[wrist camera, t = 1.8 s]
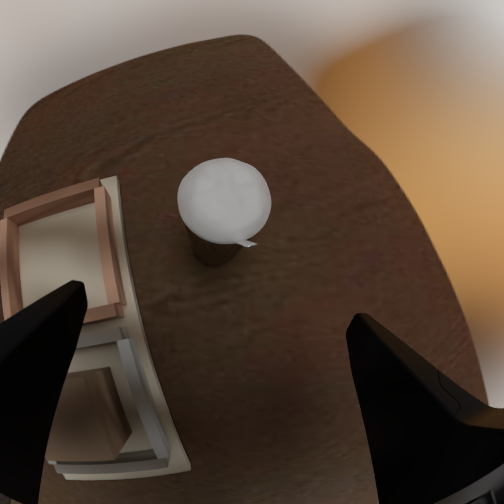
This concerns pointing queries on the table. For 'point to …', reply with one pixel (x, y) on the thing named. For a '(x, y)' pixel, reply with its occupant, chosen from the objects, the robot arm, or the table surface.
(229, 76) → the table surface
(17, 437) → the robot arm
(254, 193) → the milkshake
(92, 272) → the grey-brown divided tray
